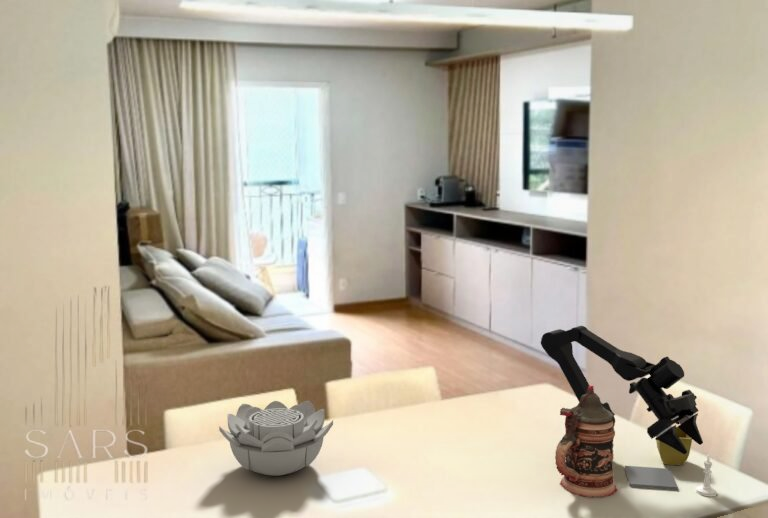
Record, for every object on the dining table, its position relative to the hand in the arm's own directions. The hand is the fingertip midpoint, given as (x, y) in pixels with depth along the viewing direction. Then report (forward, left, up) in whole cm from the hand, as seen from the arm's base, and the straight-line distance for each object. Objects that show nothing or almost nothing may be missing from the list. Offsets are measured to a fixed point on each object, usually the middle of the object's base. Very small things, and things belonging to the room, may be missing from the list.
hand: (693, 448), depth 208 cm
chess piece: (+3, -2, -11) cm, 12 cm away
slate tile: (-10, +4, -11) cm, 15 cm away
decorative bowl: (-111, -7, -11) cm, 112 cm away
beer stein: (-28, -4, -11) cm, 30 cm away
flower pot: (-2, +17, -11) cm, 20 cm away
